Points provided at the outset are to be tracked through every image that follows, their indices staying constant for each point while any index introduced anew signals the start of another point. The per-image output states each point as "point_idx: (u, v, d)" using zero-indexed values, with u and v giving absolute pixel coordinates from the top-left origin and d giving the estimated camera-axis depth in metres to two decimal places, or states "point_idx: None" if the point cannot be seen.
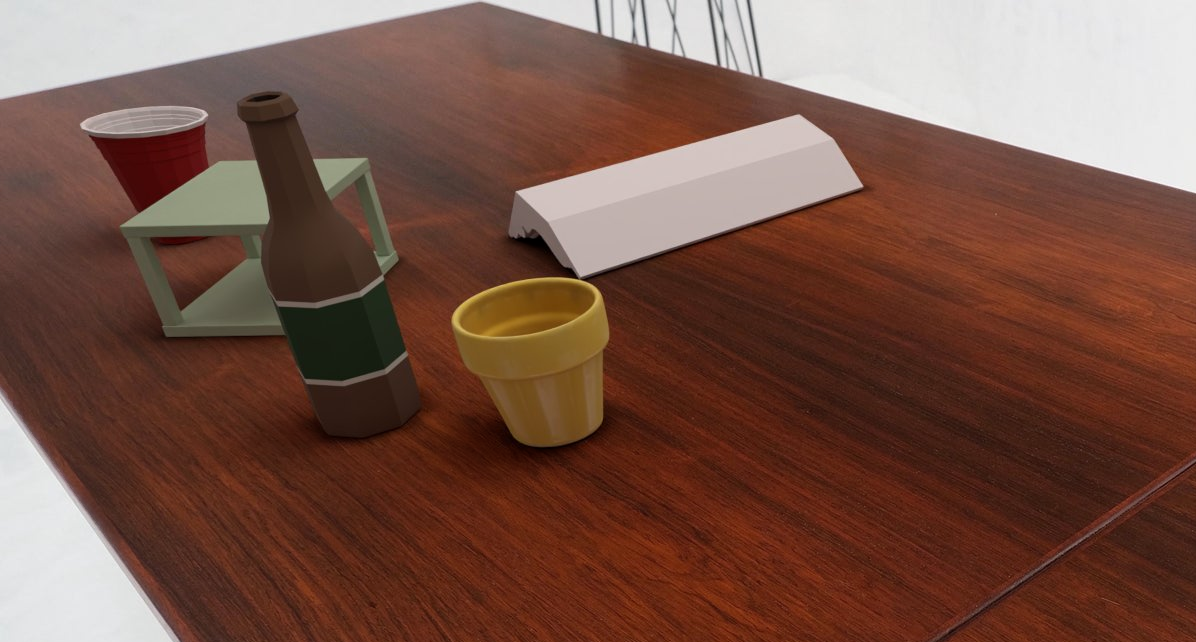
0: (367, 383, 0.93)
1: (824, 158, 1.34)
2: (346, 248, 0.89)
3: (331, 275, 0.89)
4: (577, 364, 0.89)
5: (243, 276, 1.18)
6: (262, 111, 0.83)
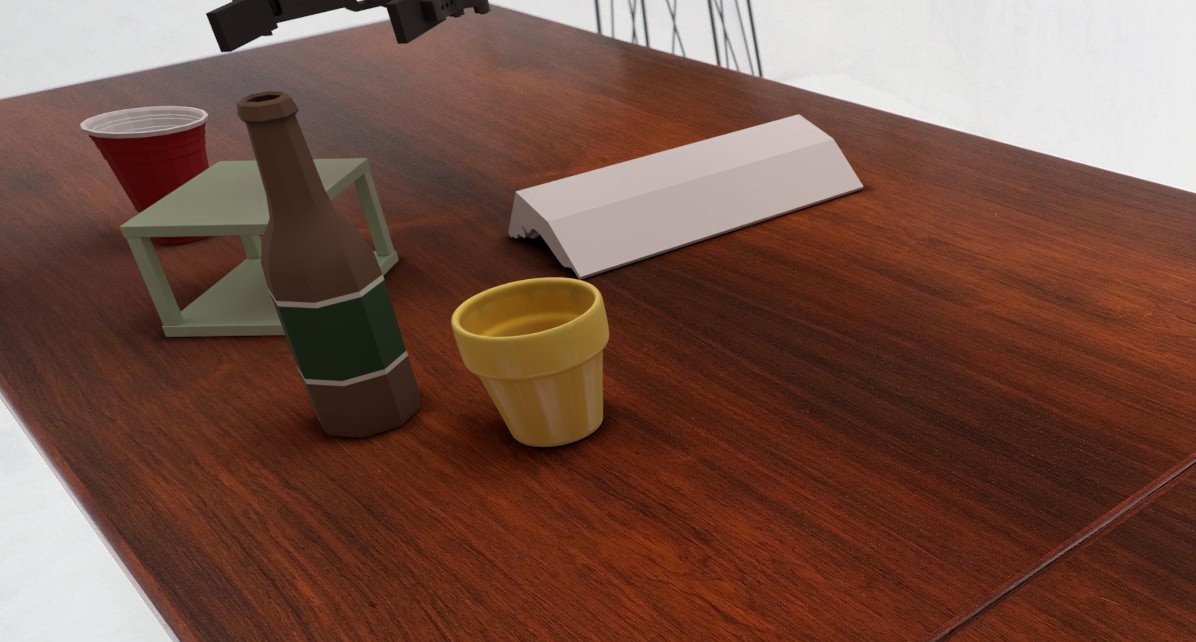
0: (367, 383, 0.93)
1: (824, 158, 1.34)
2: (346, 248, 0.89)
3: (331, 275, 0.89)
4: (577, 364, 0.89)
5: (243, 276, 1.18)
6: (262, 111, 0.83)
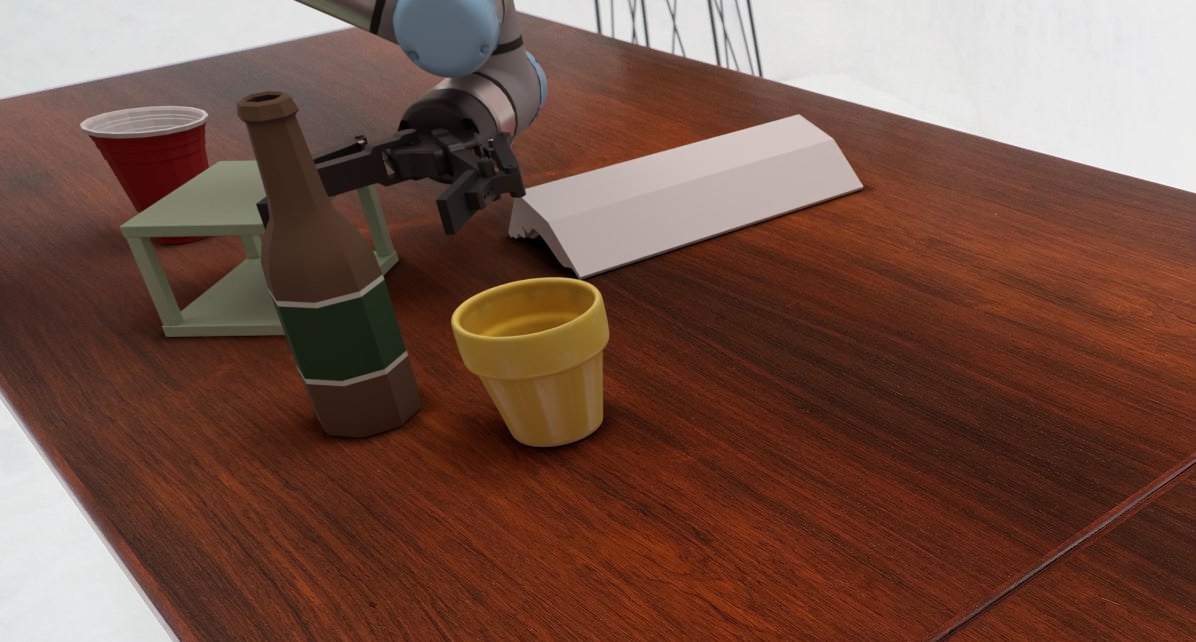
0: (367, 383, 0.93)
1: (824, 158, 1.34)
2: (346, 248, 0.89)
3: (331, 275, 0.89)
4: (577, 364, 0.89)
5: (243, 276, 1.18)
6: (262, 111, 0.83)
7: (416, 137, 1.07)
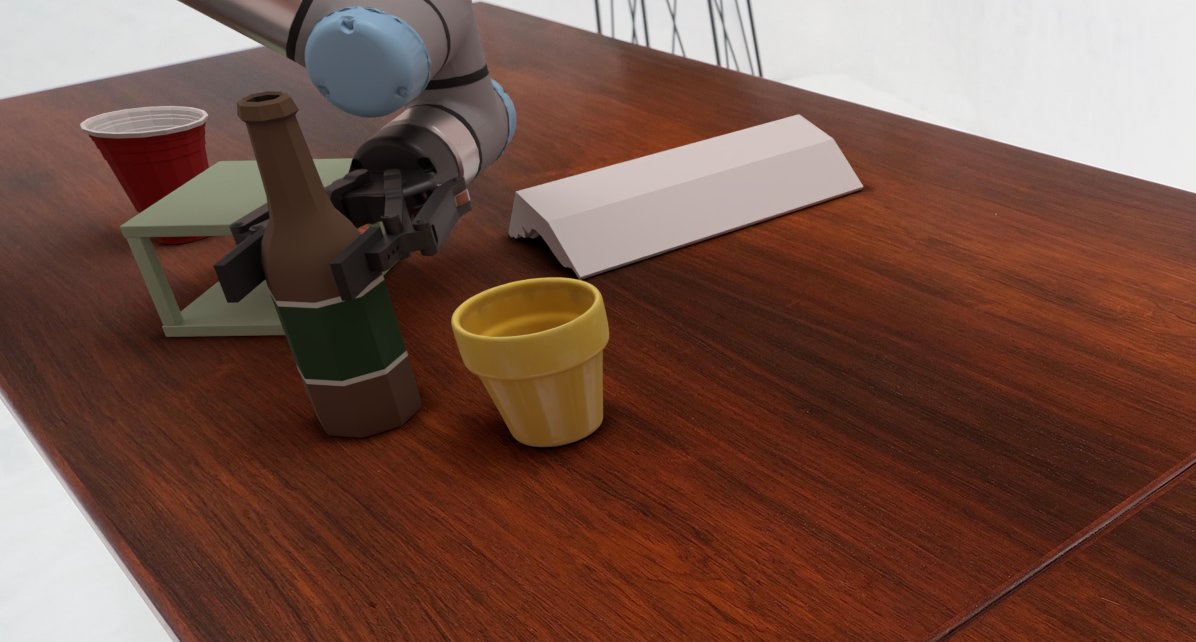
0: (367, 383, 0.93)
1: (824, 158, 1.34)
2: None
3: (331, 275, 0.89)
4: (577, 364, 0.89)
5: None
6: (262, 111, 0.83)
7: (368, 178, 0.99)
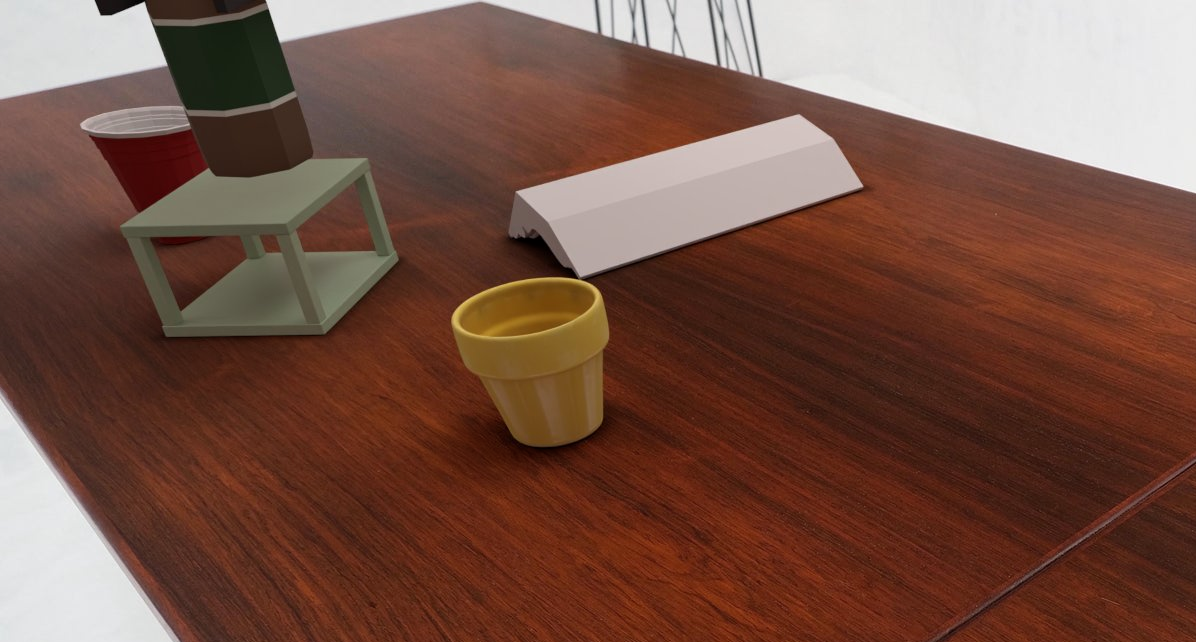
0: (252, 116, 0.91)
1: (824, 158, 1.34)
2: None
3: None
4: (577, 364, 0.89)
5: (243, 276, 1.18)
6: None
7: None
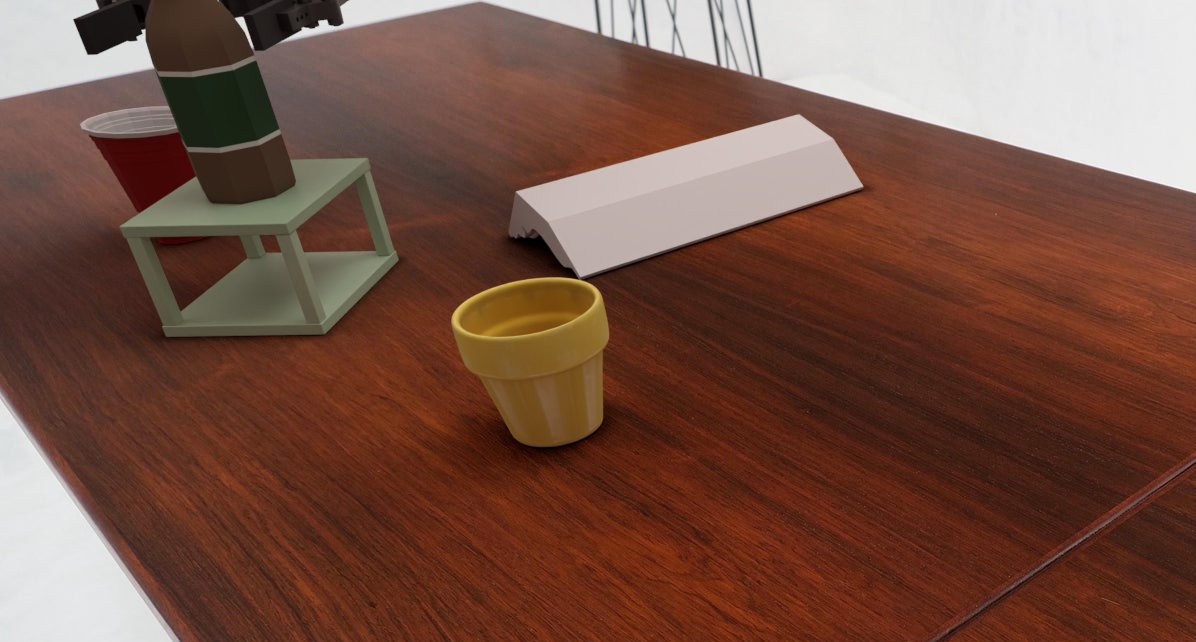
0: (242, 152, 1.06)
1: (824, 158, 1.34)
2: (218, 25, 1.02)
3: (205, 48, 1.02)
4: (577, 364, 0.89)
5: (243, 276, 1.18)
6: None
7: None
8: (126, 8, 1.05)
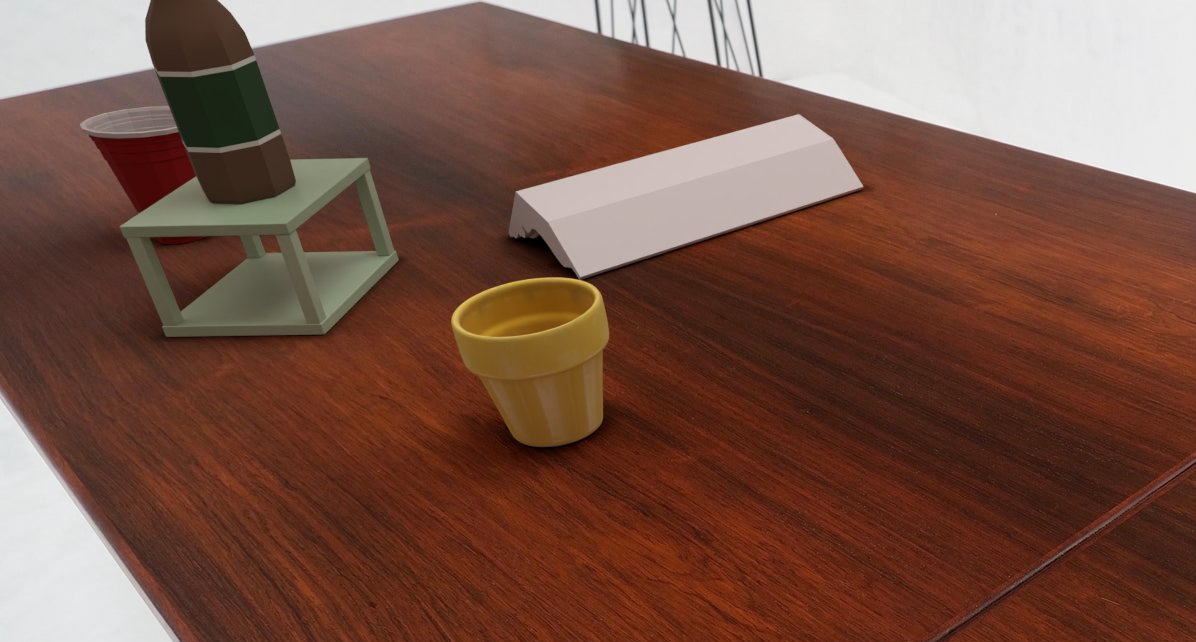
0: (242, 152, 1.06)
1: (824, 158, 1.34)
2: (218, 25, 1.02)
3: (205, 48, 1.02)
4: (577, 364, 0.89)
5: (243, 276, 1.18)
6: None
7: None
8: None
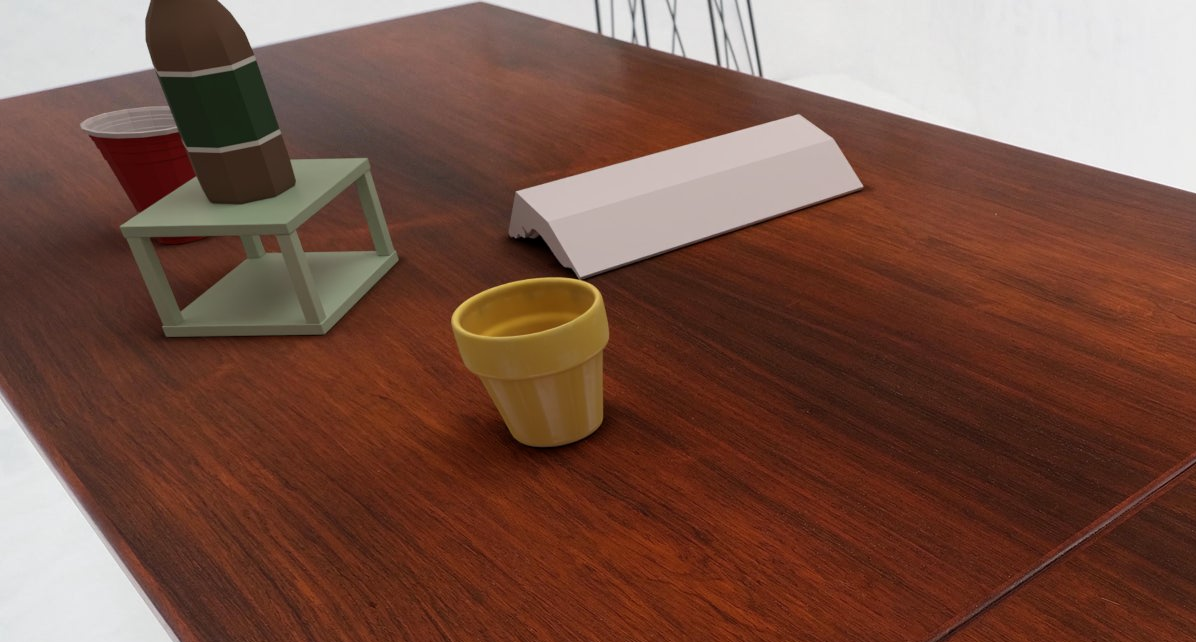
0: (242, 152, 1.06)
1: (824, 158, 1.34)
2: (218, 25, 1.02)
3: (205, 48, 1.02)
4: (577, 364, 0.89)
5: (243, 276, 1.18)
6: None
7: None
8: None
